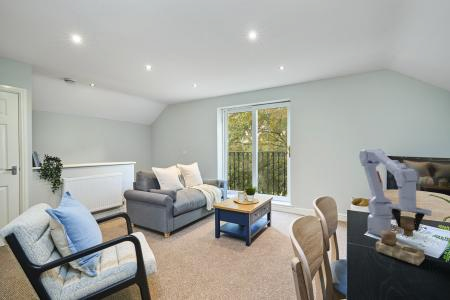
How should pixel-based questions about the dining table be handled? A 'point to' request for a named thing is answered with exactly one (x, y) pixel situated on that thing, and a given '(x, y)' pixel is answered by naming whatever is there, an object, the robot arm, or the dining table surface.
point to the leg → (407, 225)
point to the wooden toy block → (398, 249)
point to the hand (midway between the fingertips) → (408, 228)
